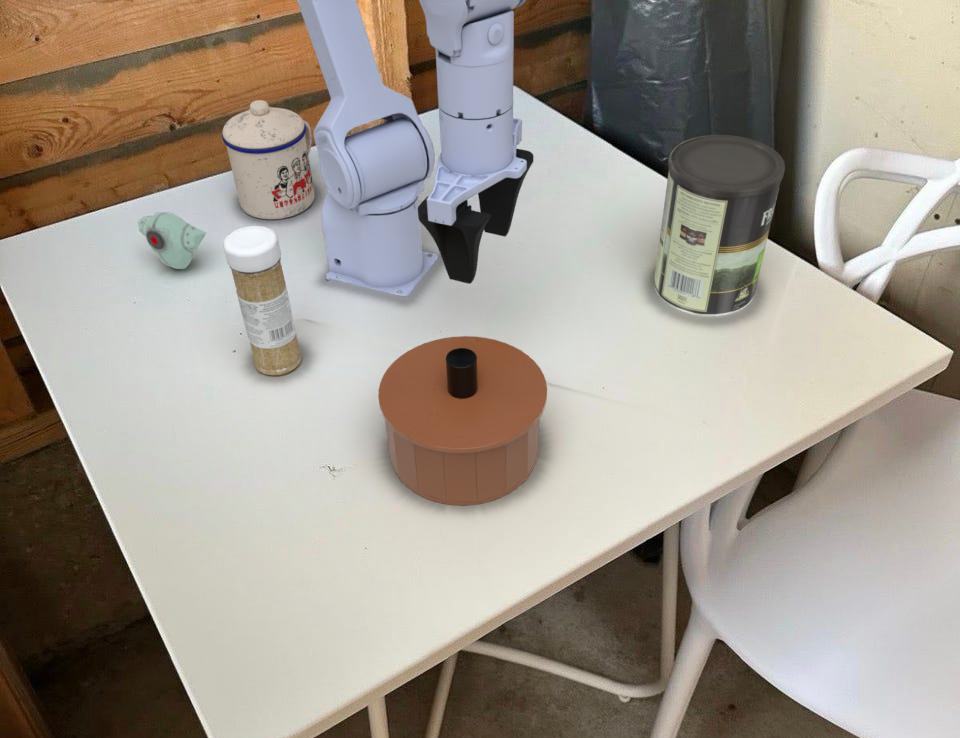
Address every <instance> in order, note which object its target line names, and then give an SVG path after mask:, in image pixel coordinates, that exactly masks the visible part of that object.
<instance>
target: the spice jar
mask: <svg viewBox="0 0 960 738" xmlns="http://www.w3.org/2000/svg"><path fill="white" fill-rule="evenodd" d="M222 245H223V246H222V247H223V251H224V256H225V260H226V263H227V265H228V267H229V269H230V270H231V274H232V278H233V282H234V286H235V289H236V290H235V292H236V296H237V301H238V304H239V308H240V312H241V315H242V320H243V323H244V327H245V332H246V336H247V339H248V341H249V344H250V348H251V352H252V356H253V365H254V367H255V369H256V370H257V371H258V372H260V373H262V374H264V375H266V376H267V375H268V376H281V375H286V374H287V373H290V372H292V371H293V370H295V369H296V368H297V367H298V366H300V364H301V361H302V358H303V357H302V356H303V354H302V351H301V349H300V347H299V342H298V337H297V333H296V326H295V321H294V317H293V312H292V306H291V301H290V297H289V292H288V291H289V290H288V288H287V283H286V280H285V275H284V271H283V265H282V262H281V260H282V251H281V247H280V242H279V238H278V235H277V233H276V232H275V231H274V230H272V229H271V228H269V227H266V226H262V225H248V226H244V227H240V228H238V229H235V230H233V231H232V232H230V233H229V234H227V236H225V238H224V240H223V244H222Z"/></svg>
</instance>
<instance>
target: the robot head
mask: <svg viewBox="0 0 960 738" xmlns="http://www.w3.org/2000/svg"><path fill="white" fill-rule="evenodd" d="M137 226H138V231H139V232H140V234H142V235H143V236H144V237H145V239H146V241H147V244H148V246H149V247H150V249H151V250H152V252H153V253H154V254H155V256H156V257H157V258H158V259H159V261H160V262H162V263H163V264H164V265H165V266H168V267H170V268H173V269H175V270H185V269H187V268H188V266H189V265H190V264H191V262H192V259H193V256H194V252H195V251H196V250H197V249H198V248H199V246H200V244H201V243H202V241H203V239H204V238H205V237H206V235H207V232H206V231H204V230H202V229H200V228H198V227H196V226H194V225H192V224H190V223H188V222H187V221H185V220H184V219H183V218H182V217H181V216H178V215H176V214H174V213H172V212H168V211H167V212H166V211H163V212H161V211H160V212H159V211H157V212H155V213H153V214H151V215H146V216H142V218H140V219H139V220H138V221H137Z"/></svg>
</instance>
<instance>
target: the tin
mask: <svg viewBox="0 0 960 738" xmlns="http://www.w3.org/2000/svg"><path fill="white" fill-rule="evenodd" d="M384 423H385V430H386V438H387V447H388V454H389V458H390V461H391V464H392V467H393V470H394V472H395V474H396V475H397V477H398V478H399V480H400V481H401V482H402V484H404V486H406V487H407V488H408V489H409V490H410V491H412V492H413V493H415V494H416V495H419V496H420V497H422V498H424V499H427V500H429V501H432V502H435V503H439V504H444V505H450V506H474V505H480V504H485V503H489V502H493V501H496V500H498V499H501V498H503V497H505V496H507V495H509V494H510V493H512V492H514V491H515V490H516V489H518V488H519V487H520V486H521V485H522V484H524V482H525V481H526V480H527V479H528V478H529V476H530V475H531V473H532V472H533V470H534V468H535V466H536V462H537V459H538V456H539V442H540V441H539V438H540V437H539V436H540V418H539V419H538V421H537V422H536V423H535V424H534V425H533V427H532V428H531V429H530V430H528V431H527V432H526V433H525V434H523V435H522V436H520V437H519V438H517V439H515V440H514V441H512V442H509V443H507V444H505V445H503V446H500V447H497V448H494V449H490V450H486V451H480V452H473V453H447V452H440V451H435V450H431V449H427V448H424V447H421V446H418V445H416V444H414V443H412V442H410V441H408V440H406V439H404V438H403V437H401V436H400V435H399V434H397V433H396V432H395V431H394V430H393V429H392V428H391V427H390V426H389V424H388V423H387V422H386V420H385V419H384Z"/></svg>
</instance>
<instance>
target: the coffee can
mask: <svg viewBox="0 0 960 738" xmlns="http://www.w3.org/2000/svg"><path fill="white" fill-rule="evenodd" d="M667 166H668V173H667V180H666V181H667V182H666V189H665V196H664V204H663V211H662V218H661V226H660V233H659V240H658V247H657V248H658V249H657V257H656V263H655V271H654V279H653V286H654V289H655V292H656V294H657V295H658V297H659V298H660V299H661V300H662V301H663V302H664V303H666V304H667V305H669V306H671V307H672V308H674V309H676V310H678V311H680V312H681V311H682V312H684V313H688V314H691V315H695V316H704V317H717V316H718V317H719V316H726V315H731V314H734V313H736V312H737V313H738V312H739V311H741V310H743V309H745V308H747V306H748V305H749V304H751V302H752V301H753V299H754V297H755V294H756V291H757V290H756V289H757V285H758V280H759V277H760V272H761V268H762V263H763V259H764V254H765V251H766V245H767V243H768V238H769V234H770V229H771V225H772V220H773V216H774V212H775V209H776V208H775V207H776V203H777V200H778V199H777V198H778V196H779V191H780V186H781V182H782V180H783V178H784V175H785V172H786V163H785V159H784V158H783V156H781V154H780V153H779V152H777V151H776V150H775V149H774V148H772V147H770V146H769V145H767V144H765V143H763V142H760V141H757V140H755V139H752V138H748V137H743V136H739V135H731V134H730V135H729V134H710V135H709V134H708V135H701V136H696V137H693V138H689V139H687V140H684V141H682V142H680V143H679V144H677V145H676V146H674V148H673V149H672V150H671V151H670V153H669V156H668V162H667Z"/></svg>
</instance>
